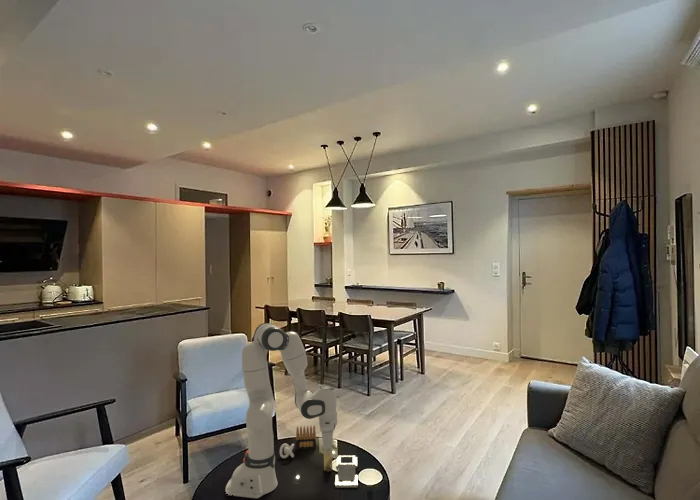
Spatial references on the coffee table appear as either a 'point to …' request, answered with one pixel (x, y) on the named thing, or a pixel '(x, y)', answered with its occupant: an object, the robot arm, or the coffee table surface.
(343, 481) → the hinge
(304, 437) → the ammunition clip
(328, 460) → the hinge pin
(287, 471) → the coffee table surface
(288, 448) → the knot
